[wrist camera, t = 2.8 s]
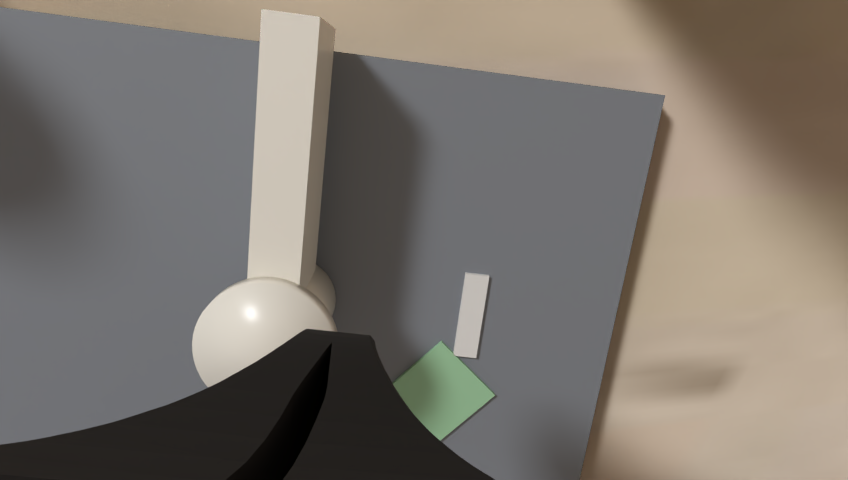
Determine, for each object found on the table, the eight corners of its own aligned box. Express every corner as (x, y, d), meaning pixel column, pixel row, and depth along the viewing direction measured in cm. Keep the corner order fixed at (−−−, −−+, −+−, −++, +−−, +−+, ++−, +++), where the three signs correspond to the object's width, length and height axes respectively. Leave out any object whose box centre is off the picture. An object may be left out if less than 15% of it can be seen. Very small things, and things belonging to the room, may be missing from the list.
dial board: (553, 547, 24) (561, 570, 23) (-5, 497, 23) (-26, 519, 21) (652, 94, 19) (667, 95, 18) (-37, 3, 18) (-67, -2, 17)
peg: (333, 468, 21) (316, 556, 17) (228, 458, 21) (186, 544, 17) (377, 35, 18) (368, 20, 14) (249, 18, 17) (202, -2, 13)
